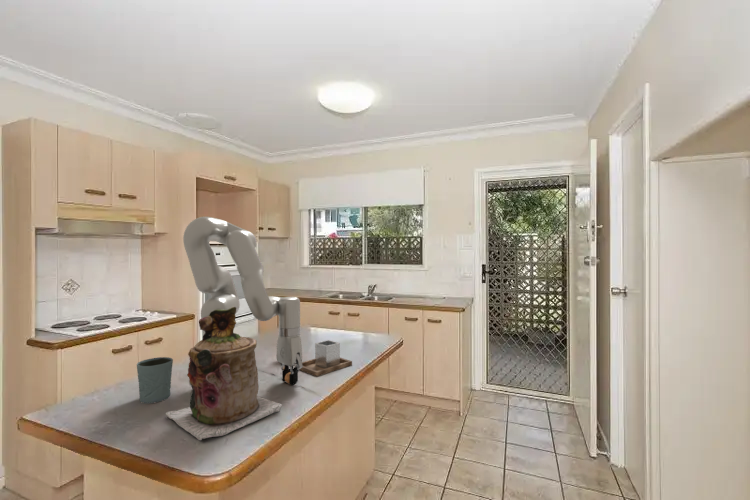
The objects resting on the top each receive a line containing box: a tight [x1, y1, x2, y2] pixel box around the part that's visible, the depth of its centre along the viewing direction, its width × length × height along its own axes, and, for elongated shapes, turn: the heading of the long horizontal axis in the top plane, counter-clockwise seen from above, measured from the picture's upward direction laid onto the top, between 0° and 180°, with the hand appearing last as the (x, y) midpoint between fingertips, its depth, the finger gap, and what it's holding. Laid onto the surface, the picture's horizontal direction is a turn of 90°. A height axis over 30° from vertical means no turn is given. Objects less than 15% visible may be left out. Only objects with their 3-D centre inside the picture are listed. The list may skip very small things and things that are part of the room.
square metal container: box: [314, 339, 341, 369], centre depth 150 cm, size 7×7×9 cm
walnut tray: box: [299, 357, 353, 377], centre depth 148 cm, size 18×14×2 cm
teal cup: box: [136, 356, 174, 404], centre depth 121 cm, size 10×10×12 cm
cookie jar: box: [165, 307, 283, 441], centre depth 108 cm, size 25×25×32 cm
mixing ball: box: [285, 372, 291, 385], centre depth 133 cm, size 4×4×4 cm
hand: (290, 381), depth 133 cm, fingers closed on mixing ball, 3 cm apart
